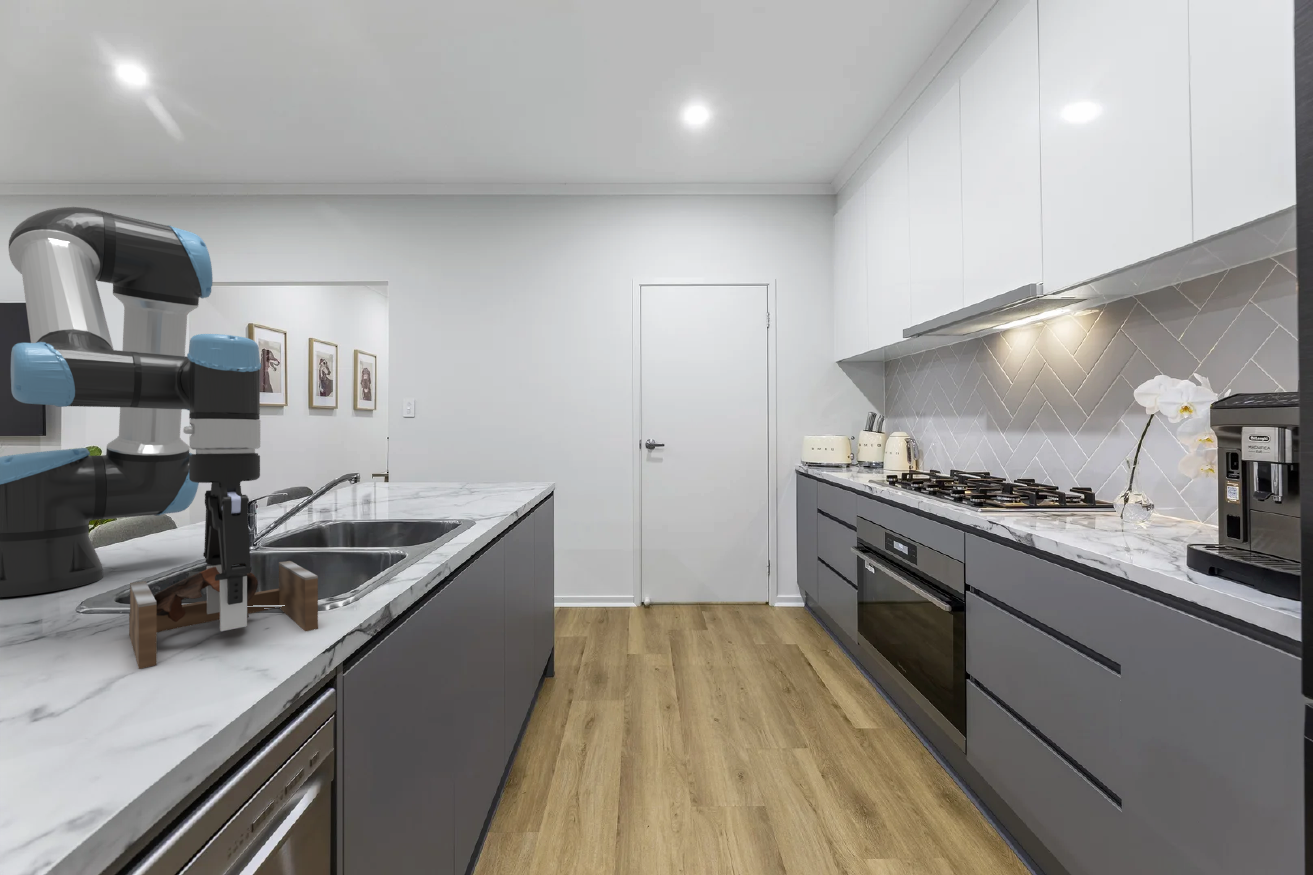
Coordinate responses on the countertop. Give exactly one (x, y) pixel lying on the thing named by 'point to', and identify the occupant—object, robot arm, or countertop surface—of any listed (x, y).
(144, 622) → the wooden stand
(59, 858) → the countertop surface
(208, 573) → the pottery mug
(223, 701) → the countertop surface
